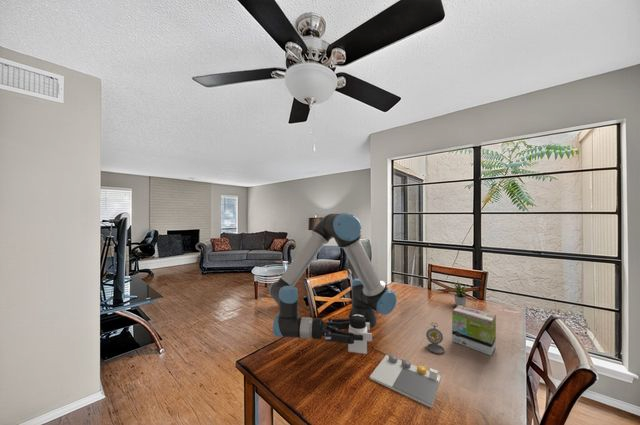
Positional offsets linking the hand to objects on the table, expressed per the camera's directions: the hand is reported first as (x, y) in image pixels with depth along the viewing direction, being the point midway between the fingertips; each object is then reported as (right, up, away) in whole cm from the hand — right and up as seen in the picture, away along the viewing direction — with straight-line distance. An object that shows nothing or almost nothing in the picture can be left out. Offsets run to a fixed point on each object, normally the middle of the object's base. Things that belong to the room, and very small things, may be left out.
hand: (370, 331), depth 88 cm
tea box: (+50, -14, +15) cm, 54 cm away
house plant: (+71, -15, +61) cm, 95 cm away
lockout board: (+11, -13, -7) cm, 18 cm away
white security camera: (-5, -7, 0) cm, 8 cm away
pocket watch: (+31, -14, +11) cm, 36 cm away
